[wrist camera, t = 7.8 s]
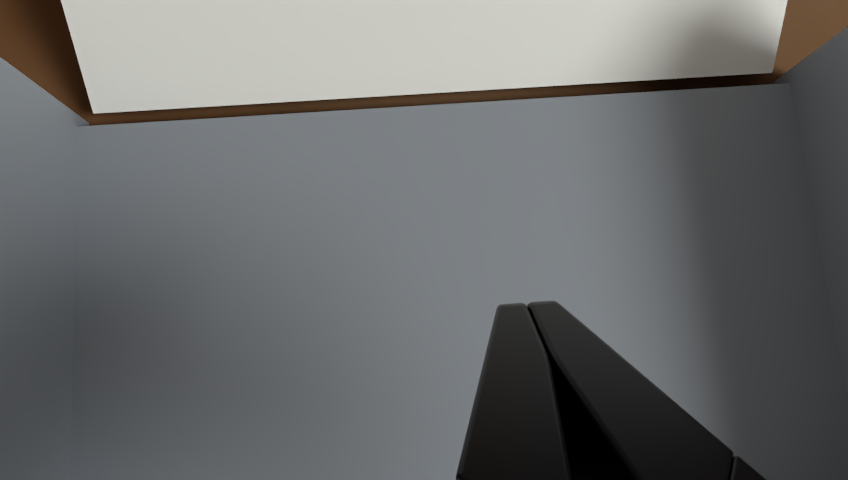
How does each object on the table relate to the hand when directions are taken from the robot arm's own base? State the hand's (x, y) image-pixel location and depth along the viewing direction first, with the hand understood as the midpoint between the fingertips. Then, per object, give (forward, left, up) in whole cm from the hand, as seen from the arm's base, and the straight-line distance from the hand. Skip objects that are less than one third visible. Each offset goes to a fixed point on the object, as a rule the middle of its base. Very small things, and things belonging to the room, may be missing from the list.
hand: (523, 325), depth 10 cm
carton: (0, 0, -11) cm, 11 cm away
